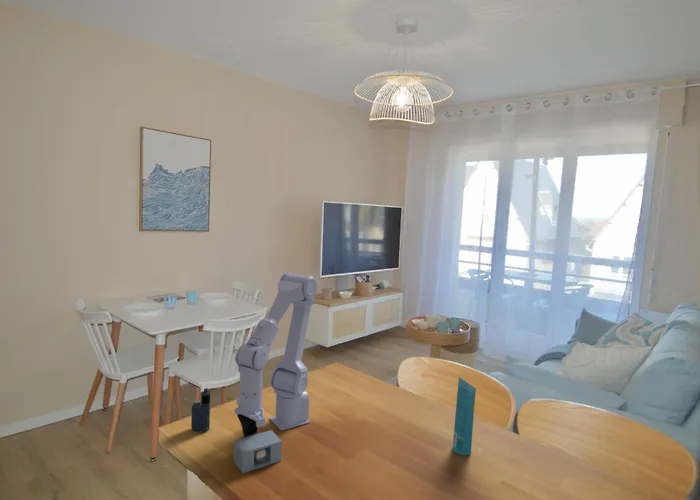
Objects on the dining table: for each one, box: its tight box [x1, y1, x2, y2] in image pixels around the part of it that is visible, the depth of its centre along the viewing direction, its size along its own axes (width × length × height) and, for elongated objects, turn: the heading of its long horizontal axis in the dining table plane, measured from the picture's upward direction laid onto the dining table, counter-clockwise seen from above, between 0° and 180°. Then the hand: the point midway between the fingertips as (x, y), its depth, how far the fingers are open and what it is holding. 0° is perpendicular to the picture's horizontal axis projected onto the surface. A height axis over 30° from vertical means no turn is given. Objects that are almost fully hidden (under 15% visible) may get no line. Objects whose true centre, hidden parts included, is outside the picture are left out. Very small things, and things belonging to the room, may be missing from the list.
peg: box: [254, 448, 268, 462], centre depth 103 cm, size 7×4×4 cm, turn 35°
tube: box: [452, 376, 477, 456], centre depth 111 cm, size 7×5×19 cm, turn 26°
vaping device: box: [190, 387, 211, 433], centre depth 115 cm, size 3×5×12 cm, turn 78°
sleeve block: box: [233, 429, 283, 474], centre depth 103 cm, size 6×10×5 cm, turn 125°
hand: (249, 440), depth 107 cm, fingers closed
